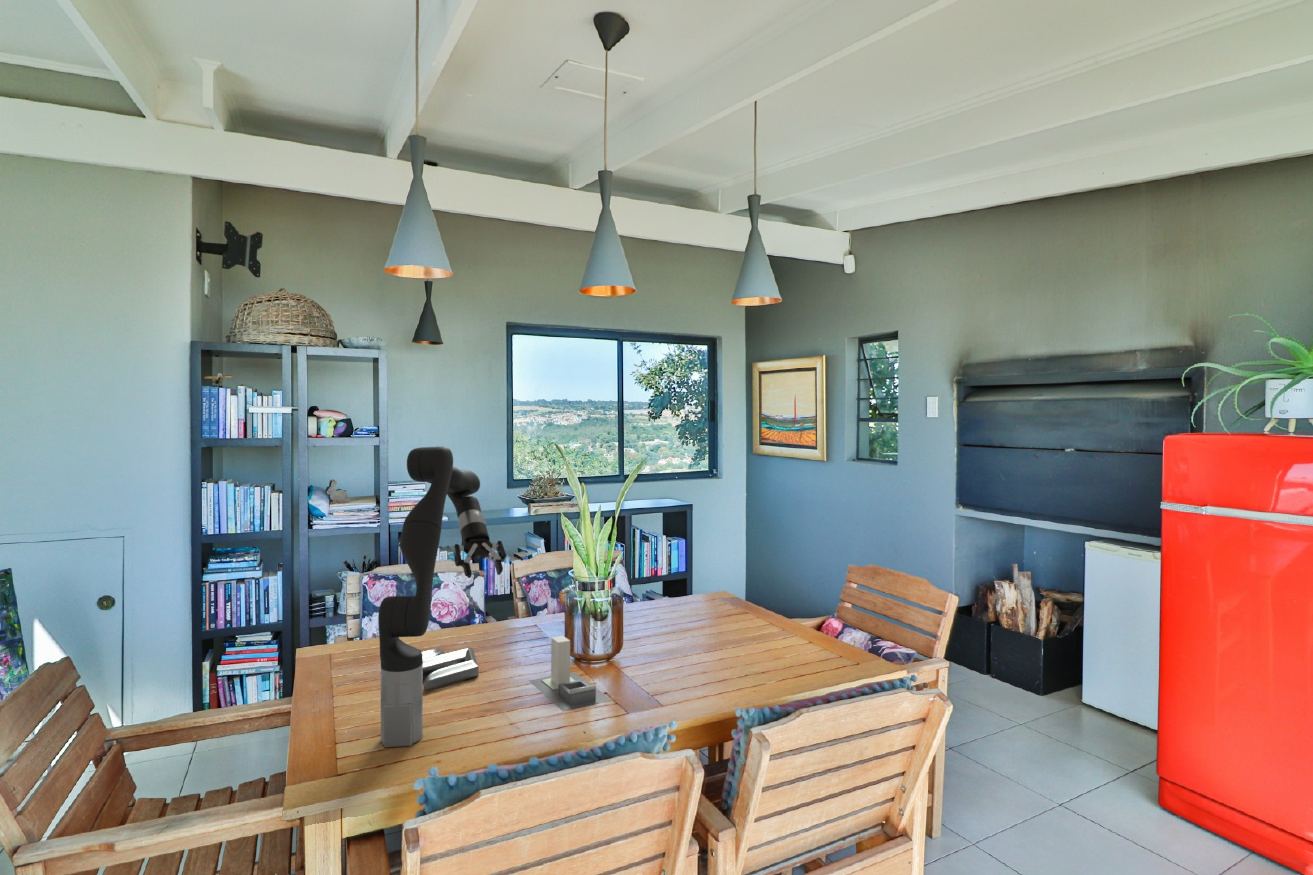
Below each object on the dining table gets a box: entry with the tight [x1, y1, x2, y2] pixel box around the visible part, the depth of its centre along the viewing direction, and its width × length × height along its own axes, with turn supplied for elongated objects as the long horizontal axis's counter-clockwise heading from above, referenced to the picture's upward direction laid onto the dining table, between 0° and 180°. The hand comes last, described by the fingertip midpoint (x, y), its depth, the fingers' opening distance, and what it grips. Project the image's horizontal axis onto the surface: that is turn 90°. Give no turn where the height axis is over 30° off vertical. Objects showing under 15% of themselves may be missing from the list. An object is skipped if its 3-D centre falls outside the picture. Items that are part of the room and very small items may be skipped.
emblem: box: [421, 647, 480, 692], centre depth 211 cm, size 28×5×28 cm
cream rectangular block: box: [550, 635, 571, 685], centre depth 201 cm, size 4×5×12 cm
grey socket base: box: [528, 671, 613, 712], centre depth 196 cm, size 14×24×5 cm, turn 31°
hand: (485, 574), depth 203 cm, fingers open, 8 cm apart
